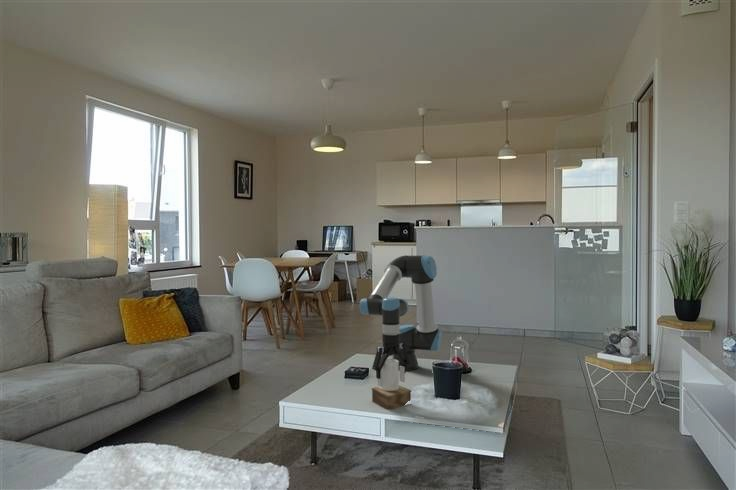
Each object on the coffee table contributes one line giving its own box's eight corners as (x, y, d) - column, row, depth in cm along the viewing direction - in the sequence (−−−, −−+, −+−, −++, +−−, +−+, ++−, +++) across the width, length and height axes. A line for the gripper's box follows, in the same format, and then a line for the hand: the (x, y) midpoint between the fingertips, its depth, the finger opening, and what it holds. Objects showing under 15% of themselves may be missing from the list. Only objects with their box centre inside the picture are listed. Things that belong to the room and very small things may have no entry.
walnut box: (394, 396, 219) (394, 383, 219) (411, 404, 209) (411, 390, 209) (371, 401, 212) (371, 388, 212) (388, 410, 202) (388, 395, 202)
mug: (403, 392, 206) (404, 364, 205) (384, 394, 203) (384, 365, 203) (395, 384, 217) (395, 358, 217) (377, 385, 215) (377, 359, 215)
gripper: (406, 329, 220) (407, 376, 220) (363, 335, 207) (363, 385, 207) (417, 331, 213) (417, 380, 214) (373, 338, 200) (373, 390, 201)
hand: (391, 383), depth 210 cm, fingers open, 11 cm apart
